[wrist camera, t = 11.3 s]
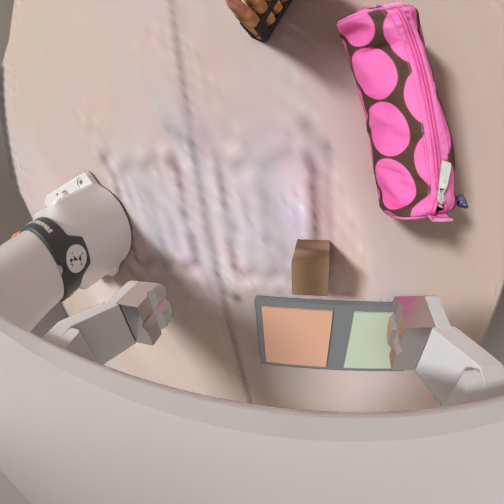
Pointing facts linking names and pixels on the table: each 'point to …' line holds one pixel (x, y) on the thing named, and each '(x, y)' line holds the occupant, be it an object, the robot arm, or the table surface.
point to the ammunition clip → (259, 15)
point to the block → (311, 267)
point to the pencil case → (402, 112)
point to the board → (324, 333)
